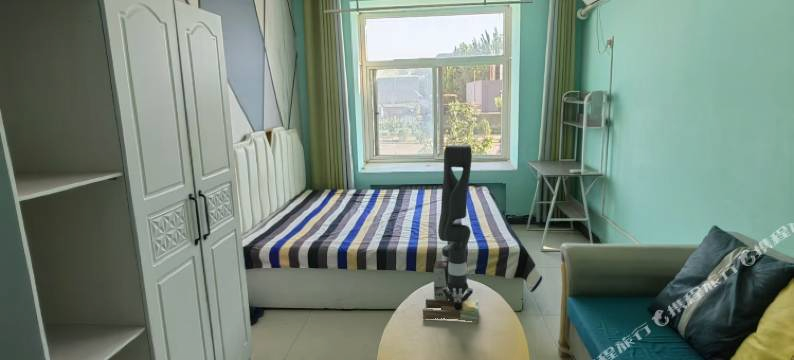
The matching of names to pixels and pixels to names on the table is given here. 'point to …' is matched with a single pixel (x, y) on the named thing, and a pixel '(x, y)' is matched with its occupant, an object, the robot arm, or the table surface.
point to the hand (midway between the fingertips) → (457, 309)
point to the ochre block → (469, 306)
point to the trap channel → (448, 311)
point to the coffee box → (440, 279)
